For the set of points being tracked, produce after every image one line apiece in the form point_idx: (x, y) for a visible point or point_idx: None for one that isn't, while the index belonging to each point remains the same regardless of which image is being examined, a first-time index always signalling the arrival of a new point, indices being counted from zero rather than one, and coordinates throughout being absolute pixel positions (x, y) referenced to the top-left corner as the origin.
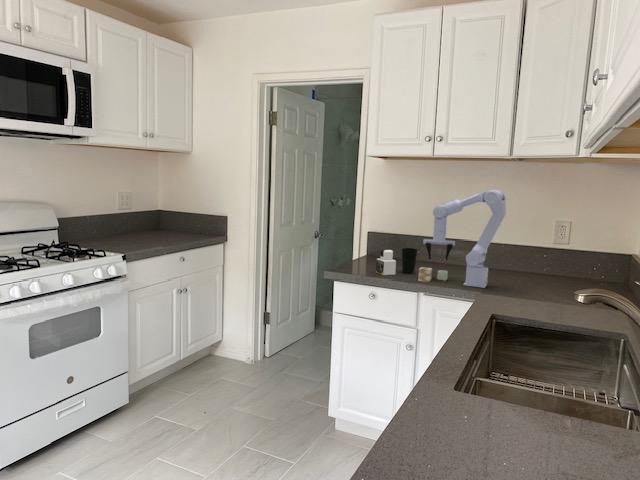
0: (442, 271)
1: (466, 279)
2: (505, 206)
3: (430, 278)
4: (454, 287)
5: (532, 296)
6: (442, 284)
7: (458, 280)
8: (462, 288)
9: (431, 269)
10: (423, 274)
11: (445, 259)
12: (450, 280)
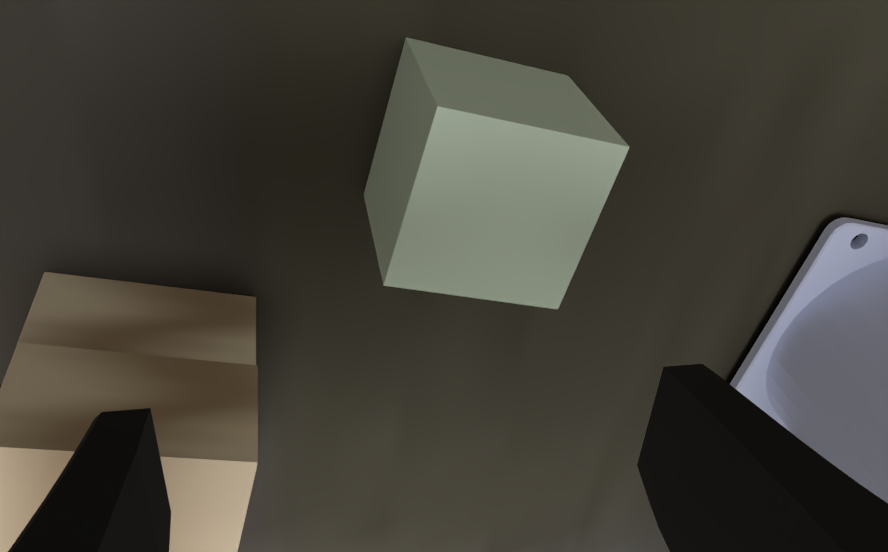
0: (492, 253)
1: (799, 431)
2: None
3: None
4: (563, 533)
5: None
6: (431, 469)
7: (751, 123)
8: (648, 533)
9: (248, 487)
10: None
11: (662, 388)
12: None
